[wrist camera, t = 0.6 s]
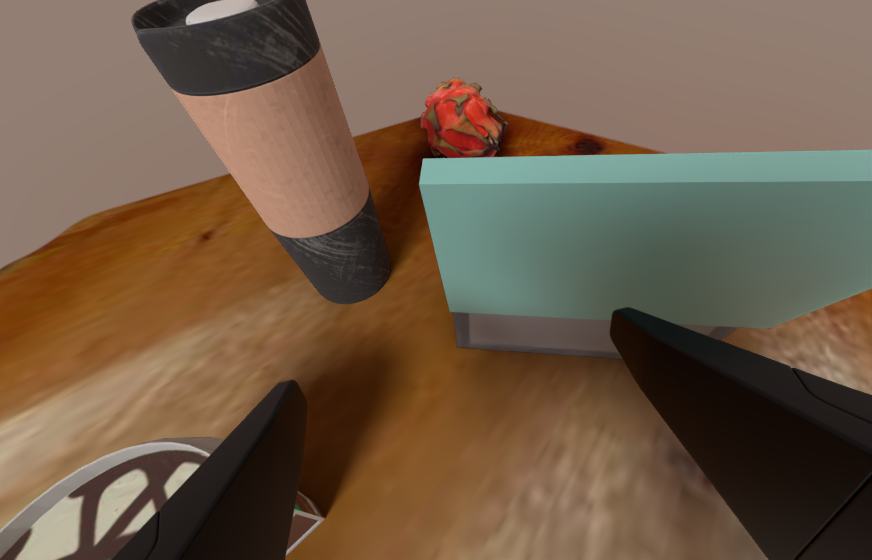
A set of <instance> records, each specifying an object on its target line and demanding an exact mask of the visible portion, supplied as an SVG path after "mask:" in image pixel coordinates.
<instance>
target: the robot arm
mask: <svg viewBox="0 0 872 560" xmlns="http://www.w3.org/2000/svg"><path fill="white" fill-rule="evenodd" d="M610 338H611V340H612V342H613V344H614V346H615V347H616V349H617V351H618V352H619V354H620V356H621V357H622V359H623V361H624V362H625V364H626V366H627V367H628V369H629V371H630V372H631V374H632V376H633V377H634V379H635V381H636V382H637V384H638V385H639V387H640V388H641V390H642V391H643V392H644V394H645V395H646V397H647V398H648V399H649V401H650V402H651V403H652V405H653V406H654V407H655V409H656V410H657V411H658V413H659V414H660V415H661V417H662V418H663V419H664V421H665V422H666V423H667V425H668V426H669V427H670V429H671V430H672V431H673V433H674V434H675V435H676V437H677V438H678V439H679V441H680V442H681V443H682V445H683V446H684V447H685V449H686V450H687V451H688V453H689V454H690V455H691V457H692V458H693V459H694V461H695V462H696V463H697V465H698V466H699V467H700V469H701V470H702V471H703V473H704V474H705V475H706V477H707V478H708V479H709V481H710V482H711V483H712V485H713V486H714V487H715V489H716V490H717V491H718V493H719V494H720V495H721V497H722V498H723V499H724V501H725V502H726V503H727V505H728V506H729V507H730V509H731V510H732V511H733V513H734V514H735V515H736V517H737V518H738V519H739V521H740V522H741V523H742V525H743V526H744V527H745V529H746V530H747V532H748V533H749V534H750V536H751V537H752V538H753V540H754V541H755V542H756V544H757V545H758V546H759V548H760V549H761V550H762V552H763V553H764V554H765V556H766V557H767V558H768V560H872V395H870V394H867V393H864V392H861V391H858V390H855V389H852V388H849V387H846V386H843V385H840V384H838V383H835V382H832V381H829V380H826V379H823V378H821V377H818V376H815V375H812V374H810V373H807V372H804V371H802V370H799V369H796V368H792V369H791V367H790V366H788V365H785V364H782V363H780V362H777V361H774V360H772V359H769V358H766V357H764V356H761V355H758V354H755V353H753V352H750V351H747V350H745V349H742V348H739V347H736V346H734V345H731V344H728V343H726V342H723V341H720V340H717V339H715V338H712V337H709V336H707V335H704V334H701V333H698V332H696V331H693V330H690V329H688V328H685V327H682V326H679V325H677V324H674V323H671V322H669V321H666V320H663V319H660V318H658V317H655V316H652V315H650V314H647V313H644V312H641V311H639V310H636V309H633V308H630V307H625V308H620V309H616V310H614V311H613V312H612V317H611V324H610ZM306 419H307V401H306V398H305V396H304V394H303V393H302V391H301V389H300V387H299V385H298V384H297V382H296V381H295V380H288V381H284V382H280V383H278V384H277V385H276V386H275V387H274V388H273V389H272V390H271V391H270V392H269V393H268V394H267V395H266V396H265V397H264V398H263V400H262V401H261V402H260V403H259V404H258V405H257V406H256V407H255V408H254V409H253V410H252V411H251V412H250V413H249V414H248V415H247V416H246V418H245V419H244V420H243V421H242V422H241V423H240V424H239V425H238V426H237V427H236V428H235V429H234V430H233V431H232V432H231V433H230V434H229V436H228V437H227V438H226V439H225V440H224V441H223V442H222V443H221V444H220V445H219V446H218V447H217V448H216V449H215V450H214V451H213V452H212V454H211V455H210V456H209V457H208V458H207V459H206V460H205V461H204V462H203V463H202V464H201V465H200V466H199V467H198V468H197V469H196V470H195V471H194V473H193V474H192V475H191V476H190V477H189V478H188V479H187V480H186V481H185V482H184V483H183V484H182V485H181V486H180V487H179V488H178V489H177V490H176V492H175V493H174V494H173V495H172V496H171V497H170V498H169V499H168V500H167V501H166V502H165V503H164V504H163V505H162V506H161V508H160V511H157V512H156V513H155V514H154V515H153V516H152V517H151V518H150V519H149V520H148V521H147V522H146V523H145V524H144V525H143V526H142V527H141V528H140V529H139V531H138V532H137V533H136V534H135V535H134V536H133V537H132V538H131V539H130V540H129V541H128V542H127V543H126V544H125V545H124V546H123V547H122V548H121V549H120V550H119V551H118V552H117V553H116V554H115V555H114V556H113V557H112V558H111V559H110V560H285V557H286V552H287V547H288V541H289V536H290V531H291V525H292V520H293V514H294V509H295V504H296V498H297V493H298V488H299V482H300V477H301V471H302V465H303V457H304V445H305V432H306Z"/></svg>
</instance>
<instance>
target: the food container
mask: <svg viewBox="0 0 872 560" xmlns="http://www.w3.org/2000/svg"><path fill="white" fill-rule="evenodd" d="M224 440H225V439H220V438H213V437H189V438H164V439H159V440H155V441H150V442H145V443H141V444H139V445H136V446H132V447H128V448H125V449H122V450H119V451H117V452H114V453H111V454H108V455H105V456H103V457H101V458H99V459H97V460H95V461H93V462H91V463H89V464H87V465H85V466H83V467H81V468H80V469H78V470H76V471H75V472H73V473H72V474H70V475H69V476H67V477H65V478H64V479H62V480H61V481H59V482H57V483H56V484H55V485H53V486H52V487H51V488H49V489H48V490H47V491H45V492H44V493H43V494H41V495H40V496H39V497H37V498H36V499H35V500H33V501H32V502H31V503H30V504H28V505H27V506H26V507H25V508H24V509H23V510H22V511H21V512H19V513H18V514H17V515H16V516H15V517H14V518H13V519H12V520H11V521H9V522H8V523H7V524H6V525H5V526H4V527H3V528H2V529H1V530H0V560H110V559H111V558H112V557H113V556H114V555H115V554H116V553H117V552H118V551H119V550H120V549H121V548H122V547H123V546H124V545H125V544H126V543H127V542H128V541H129V540H130V539H131V538H132V537H133V536H134V535H135V534H136V533H137V532H138V531H139V529H140V528H141V527H142V526H143V525H144V524H145V523H146V522H147V521H148V520H149V519H150V518H151V517H152V516H153V515H154V514H155V513H156V512H157V511H160V508H161V506H162V505H163V504H164V503H165V502H166V501H167V500H168V499H169V498H170V497H171V496H172V495H173V494H174V493H175V492H176V490H177V489H178V488H179V487H180V486H181V485H182V484H183V483H184V482H185V481H186V480H187V479H188V478H189V477H190V476H191V475H192V474H193V473H194V471H195V470H196V469H197V468H198V467H199V466H200V465H201V464H202V463H203V462H204V461H205V460H206V459H207V458H208V457H209V456H210V455H211V454H212V452H213V451H214V450H215V449H216V448H217V447H218V446H219V445H220V444H221V443H222V442H223V441H224ZM324 519H325V517H324V516H323V514H322V513H321V511H320V510H319V508H318V507H317V505H316V503H315V502H314V501H312V500H311V499H310V498H308V497H307V496H305V495H304V494H303V493H301V492H300V491H299V490H298V493H297V498H296V504H295V509H294V514H293V520H292V525H291V531H290V536H289V541H288V547H287V552H286V556H287V555H288V554H289V553H290V552H291V551H292V550H293V549H294V548H295V547H296V546H297V545H298V544H299V543H300V542H301V541H302V540H303V539H305V538H306V537H307V536H308V535H309V534H310V533H311V532H312V531H313V530H314V529H315V528H316V527H317V526H318V525H319V524H320V523H321V522H322V521H323V520H324Z"/></svg>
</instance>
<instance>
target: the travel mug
mask: <svg viewBox="0 0 872 560" xmlns="http://www.w3.org/2000/svg"><path fill="white" fill-rule="evenodd" d="M131 21H132V25H133V27H134V30H135V32H136V34H137V37H138V40H139V42H140V44H141V46H142V47H143V49H144V50H145V52H146V53H147V55H148V56H149V57H150V59H151V60H152V62H153V63H154V65H155V66H156V67H157V69H158V70H159V72H160V73H161V74H162V76H163V77H164V79H165V80H166V82H167V83H168V84H169V86H170V87H171V89H172V90H173V92H174V93H175V94H176V96H177V97H178V99H179V100H180V101H181V103H182V105H183V106H184V107H185V109H186V110H187V112H188V113H189V115H190V116H191V117H192V119H193V120H194V122H195V123H196V124H197V126H198V127H199V129H200V130H201V132H202V133H203V134H204V136H205V137H206V139H207V140H208V142H209V143H210V145H211V146H212V147H213V149H214V150H215V152H216V153H217V155H218V156H219V157H220V159H221V160H222V162H223V163H224V164H225V166H226V167H227V169H228V170H229V172H230V173H231V175H232V176H233V177H234V179H235V180H236V182H237V183H238V185H239V186H240V187H241V189H242V190H243V192H244V193H245V195H246V196H247V198H248V199H249V200H250V202H251V203H252V205H253V206H254V208H255V209H256V210H257V212H258V213H259V215H260V216H261V218H262V219H263V220H264V222H265V223H266V225H267V226H268V227H269V229H270V230H271V231H272V233H273V234H274V235H275V237H276V238H277V239H278V240H279V242H280V243H281V244H282V246H283V247H284V248H285V249H286V251H287V252H288V253H289V255H290V256H291V257H292V258H293V260H294V261H295V262H296V264H297V265H298V266H299V268H300V269H301V270H302V271H303V273H304V274H305V275H306V277H307V278H308V279H309V280H310V282H311V283H312V284H313V286H314V287H315V288H316V289H317V291H318V292H319V293H320V294H321V295H322V296H323V297H324V298H326V299H327V300H329V301H332V302H335V303H340V304H351V303H356V302H360V301H363V300H365V299H367V298H369V297H371V296H372V295H374V294H375V293H376V292H378V291H379V290H380V289H381V288H382V287H383V285H384V284H385V283H386V281H387V279H388V276H389V273H390V259H389V256H388V252H387V248H386V245H385V241H384V238H383V234H382V231H381V227H380V224H379V220H378V217H377V213H376V210H375V206H374V203H373V200H372V196H371V193H370V189H369V186H368V182H367V179H366V177H365V174H364V171H363V168H362V165H361V162H360V159H359V156H358V153H357V150H356V147H355V144H354V141H353V138H352V136H351V132H350V130H349V127H348V124H347V121H346V118H345V115H344V112H343V109H342V106H341V103H340V100H339V97H338V94H337V91H336V88H335V85H334V82H333V79H332V77H331V74H330V71H329V68H328V65H327V62H326V59H325V56H324V53H323V50H322V47H321V44H320V42H319V38H318V35H317V32H316V29H315V27H314V23H313V21H312V18H311V15H310V12H309V10H308V6H307V3H306V0H157V1H155V2H152V3H150V4H148V5H146V6H144V7H142V8H141V9H139V10H138V11H136V12H135V13H134V14H133V16H132V20H131Z"/></svg>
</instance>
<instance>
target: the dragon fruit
mask: <svg viewBox="0 0 872 560" xmlns="http://www.w3.org/2000/svg"><path fill="white" fill-rule="evenodd" d="M481 89H482V88H481V86H480V85H479V84H477V83H472V84H470V85H467V84H466V83H465V82H464V80H462V79H460V78H452V79H450V80H449V81H447V82H441V83H440V84H439V86H438V87H437V88H436V91H434V92H433V93H431V94H430V95H429V96H428V98H427V100H426V101H425V106H426V107H427V110H426V112H423V113H422V115H421V121H420V127H421V128H422V129H427V133H428V144H429V147H430V149H431V151H432V153H433V154H434V155H435V156H439V155H440V154H441V153H442V154H443V155H445V156H447V157H448V158H476V157H477V158H482V157H494V155H495V153H496V152H497V150H498V151H500V148H499V145H498V144H499V143H500V142H502V140H500V137H501V136H503V135H504V133H505V132H506V128H507V127H508V123H507V122H503V124H502V123H499V122H497V121H496V120H495V119H493V118H492V117H491V116H490V115H489V113H490V112H491V111H492V112H493V114H494V115H495V116H497V117H498V118H499V119H500V120H504V118H503V117H501V116H500V115H498V114H497V108H496V107H495V106H494V105H492V103H491V101H490V100H489V99H486V98H485V97H481V96H480V91H481ZM497 145H498V146H497Z"/></svg>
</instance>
